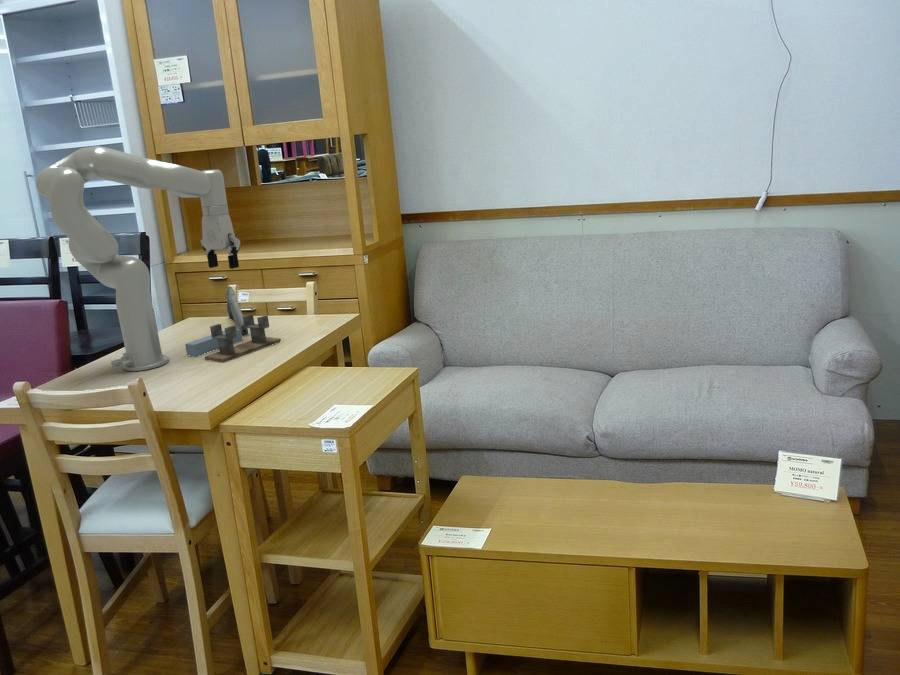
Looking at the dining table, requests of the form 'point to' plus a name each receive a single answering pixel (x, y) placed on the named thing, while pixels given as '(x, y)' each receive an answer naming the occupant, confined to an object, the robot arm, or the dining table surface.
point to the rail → (207, 344)
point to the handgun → (235, 310)
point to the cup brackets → (226, 341)
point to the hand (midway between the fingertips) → (223, 267)
